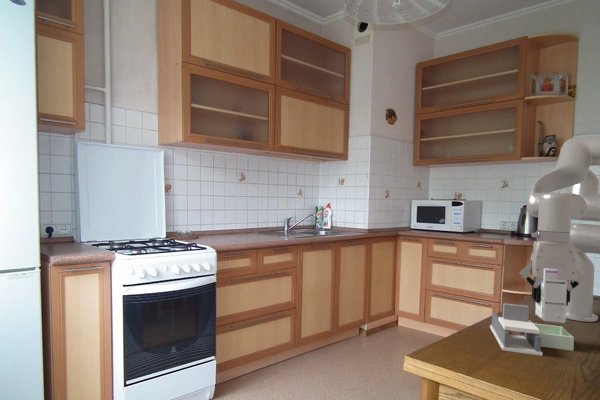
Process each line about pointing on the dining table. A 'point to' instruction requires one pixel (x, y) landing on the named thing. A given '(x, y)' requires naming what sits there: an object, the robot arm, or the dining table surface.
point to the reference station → (516, 339)
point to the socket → (555, 337)
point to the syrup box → (552, 297)
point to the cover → (517, 319)
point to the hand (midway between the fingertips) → (550, 302)
